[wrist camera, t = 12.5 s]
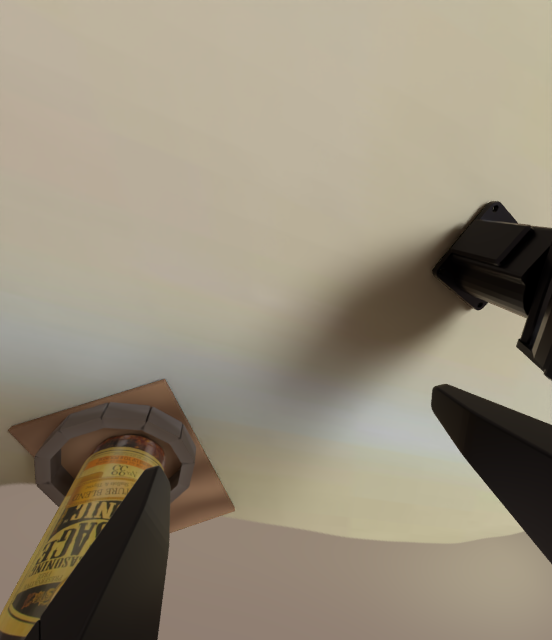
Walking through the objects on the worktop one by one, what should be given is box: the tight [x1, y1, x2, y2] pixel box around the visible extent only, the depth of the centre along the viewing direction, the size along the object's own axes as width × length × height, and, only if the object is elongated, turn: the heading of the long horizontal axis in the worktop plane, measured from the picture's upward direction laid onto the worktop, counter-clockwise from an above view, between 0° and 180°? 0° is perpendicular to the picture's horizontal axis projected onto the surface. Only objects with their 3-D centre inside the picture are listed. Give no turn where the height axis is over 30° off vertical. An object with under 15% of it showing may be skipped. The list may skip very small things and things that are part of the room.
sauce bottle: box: [0, 435, 166, 640], centre depth 15 cm, size 7×6×20 cm
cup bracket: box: [8, 379, 235, 533], centre depth 25 cm, size 18×12×2 cm, turn 14°
